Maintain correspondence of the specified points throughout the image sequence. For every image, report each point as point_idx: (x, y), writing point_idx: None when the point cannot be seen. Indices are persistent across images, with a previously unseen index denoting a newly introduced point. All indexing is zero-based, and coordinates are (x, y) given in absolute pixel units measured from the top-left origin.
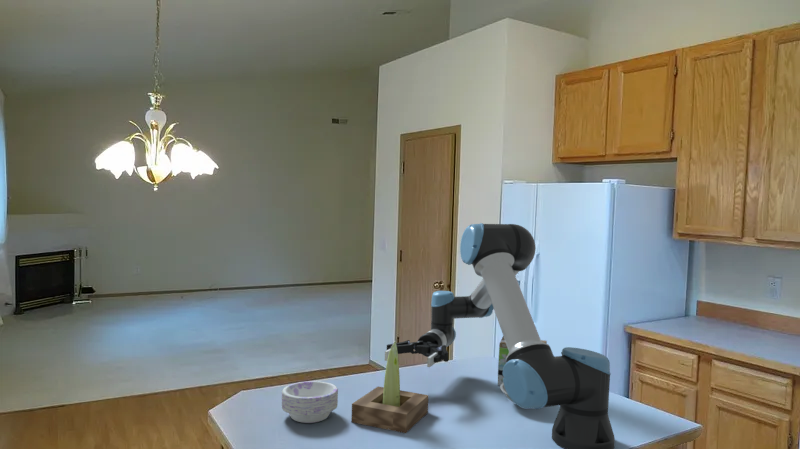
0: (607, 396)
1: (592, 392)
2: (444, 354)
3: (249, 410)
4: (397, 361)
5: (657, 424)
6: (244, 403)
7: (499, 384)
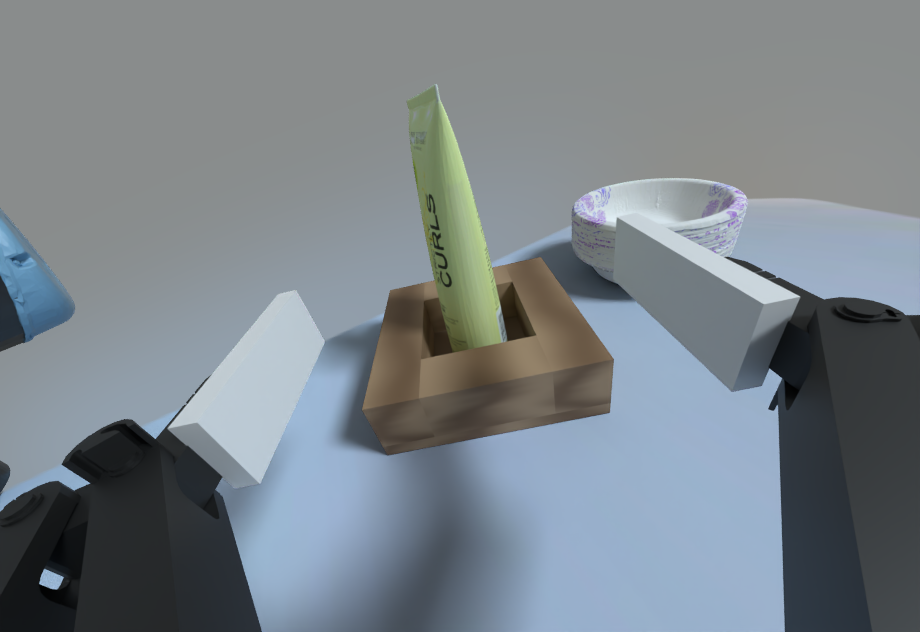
0: None
1: None
2: (74, 494)
3: (771, 223)
4: (420, 188)
5: None
6: (844, 223)
7: None
